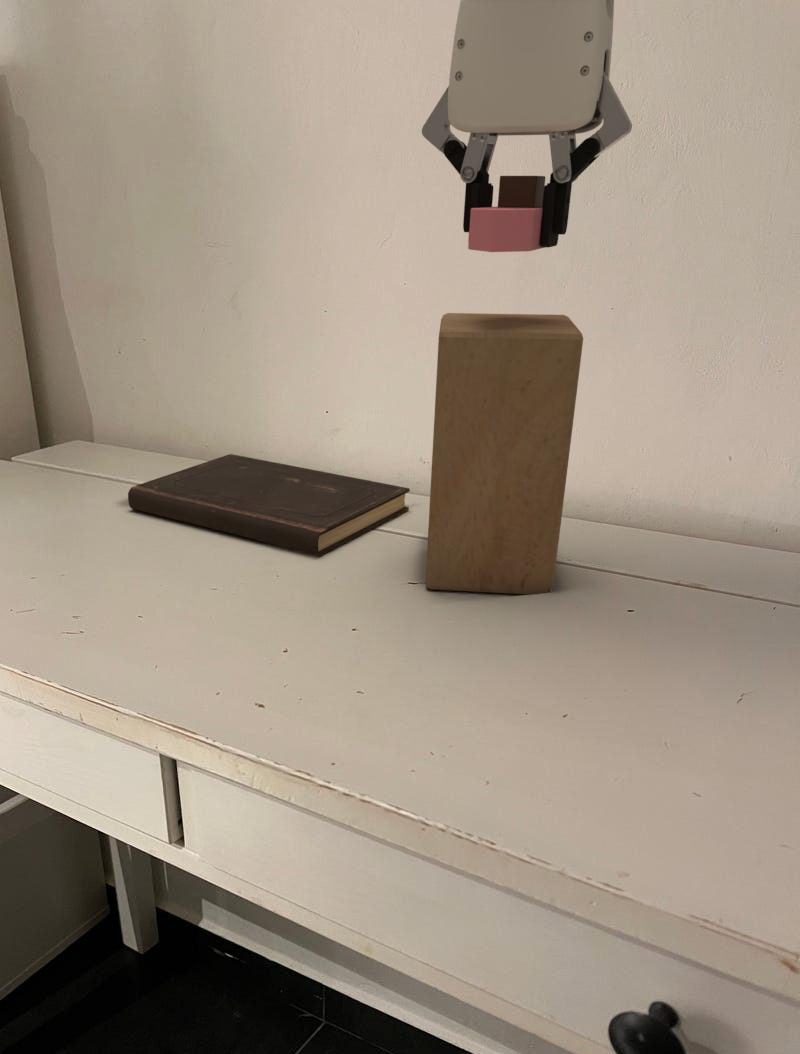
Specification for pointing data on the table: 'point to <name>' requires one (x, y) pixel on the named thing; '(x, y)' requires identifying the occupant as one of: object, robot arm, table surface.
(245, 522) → the hardcover book
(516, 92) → the robot arm
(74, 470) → the table surface
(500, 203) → the pink and brown blocks
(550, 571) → the wooden block
